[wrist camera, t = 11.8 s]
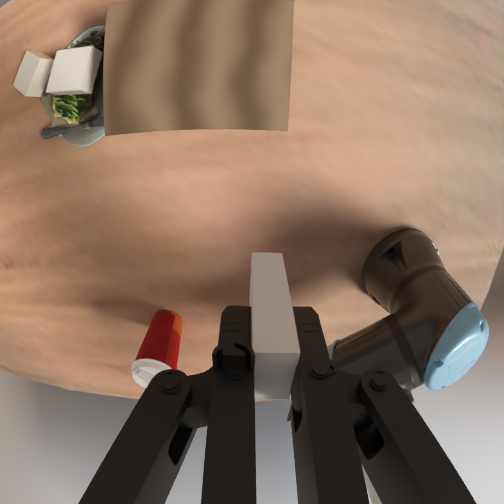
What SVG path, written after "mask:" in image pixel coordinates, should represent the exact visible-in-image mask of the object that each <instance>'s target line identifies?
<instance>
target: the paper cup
mask: <svg viewBox="0 0 504 504" xmlns="http://www.w3.org/2000/svg"><path fill="white" fill-rule="evenodd" d="M181 330H182V320H181V318H180V317H179V316H178V315H177V314H176V313H174V312H172V311H168V310H162V311H159V312H157V313H156V314H155V316H154V318H153V320H152V322H151V324H150V326H149V329H148V331H147V333H146V336H145V338H144V340H143V343H142V345H141V347H140V350H139V352H138V355H137V357H136V360H135V361H134V362H133V363H132V365H131V370H132V376H133V379H134V380H135V381H136V382H137V383H138V384H139V385H141V386H142V387H144V388H147V386H148V384H149V383H150V381H151V379H152V378H153V377H154V376H155V375H156V374H157V373H159V372H161V371H163V370H168V369H175V370H176V369H177V361H178V353H179V345H180V338H181Z"/></svg>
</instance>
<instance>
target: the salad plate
mask: <svg viewBox="0 0 504 504" xmlns="http://www.w3.org/2000/svg"><path fill="white" fill-rule="evenodd" d="M105 26H106V25H99V26H94V27H91V28H89V29H87V30H86V31H84V32H83V33H82V34H80V35H79V36H78V37H77V38H76V39H75V40H74V41H73V42H72V43H70V44H69V45H68V46H67V47H66V48H65V49H72V48H79V47H87V46H93V47H95V48H97V49H98V50H100V51H101V52H103V53H102V57H101V60H100V64H99V67H98V71H97V74H98V76H97V77H96V78H95V82H94V86H93V90H92V94H72V95H55V94H50V93H46V89H47V85H48V81H49V77H50V75H49V77H48V79H47V82H46V84H45V87H44V89H43V92H42V94H41V100H42V102H43V104H44V106H45V108H46V110H47V112H48V113H49V115H50V117H51V120H52V124H51V125H50V126H49V127H47V128H44V129H43V130H42V133H41V136H42V138H43V139H48V138H52V137H56V136H61V137H62V138H63V139H64V140H65V141H67V142H68V143H70V144H72V145H76V146H89V145H91V144H92V143H94V142H96V141H97V140H99V139H100V138H101V137H103V136H104V135H105V130H104V107H103V61H104V40H105ZM65 49H64V50H65ZM50 73H51V72H50ZM94 107H96V108H98V110H99V114H98V115H97V116H94V115H92V114H91V110H92V108H94Z"/></svg>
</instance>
